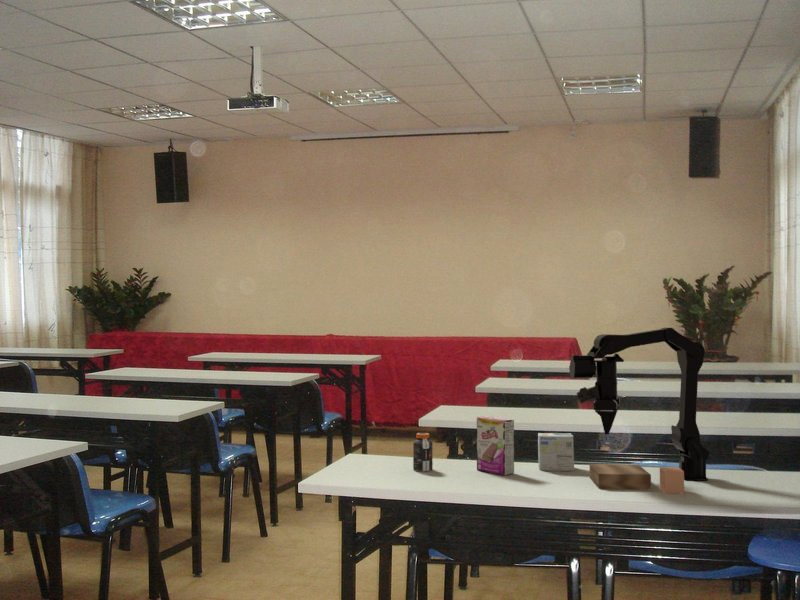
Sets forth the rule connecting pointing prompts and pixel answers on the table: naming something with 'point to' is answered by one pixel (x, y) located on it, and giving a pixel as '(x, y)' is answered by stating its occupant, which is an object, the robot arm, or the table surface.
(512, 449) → the candy bar box
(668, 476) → the terracotta block
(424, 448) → the pill bottle
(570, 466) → the light bulb box
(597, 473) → the walnut plinth
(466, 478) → the table surface
